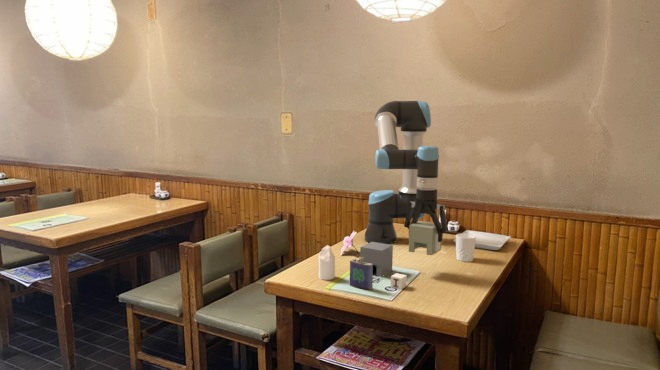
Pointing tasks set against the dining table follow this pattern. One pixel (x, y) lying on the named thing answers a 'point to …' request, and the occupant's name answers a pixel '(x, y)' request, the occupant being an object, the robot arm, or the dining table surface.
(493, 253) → the dining table surface
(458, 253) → the white cup
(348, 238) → the lily
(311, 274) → the dining table surface
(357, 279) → the flask
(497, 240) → the salad plate
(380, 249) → the slate cover
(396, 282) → the letter cube
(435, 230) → the olive cover
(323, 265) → the white bottle
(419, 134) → the robot arm
